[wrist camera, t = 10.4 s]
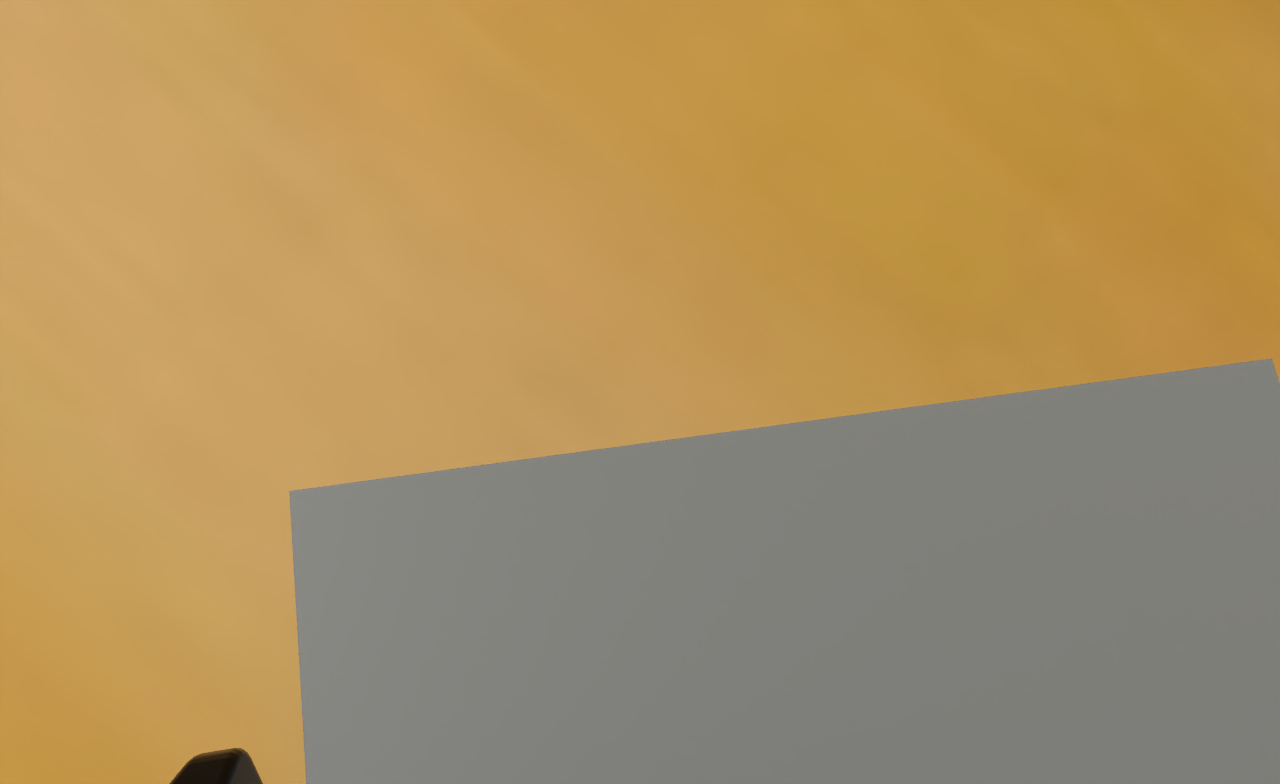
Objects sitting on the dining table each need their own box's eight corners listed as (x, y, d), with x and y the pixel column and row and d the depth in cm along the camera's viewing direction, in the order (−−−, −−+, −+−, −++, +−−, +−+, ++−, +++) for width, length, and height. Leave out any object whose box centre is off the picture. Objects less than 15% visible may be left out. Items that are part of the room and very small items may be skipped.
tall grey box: (887, 876, 15) (1647, 1564, 4) (539, 937, 14) (370, 1883, 4) (822, 528, 16) (1272, 359, 5) (500, 574, 16) (289, 491, 5)
